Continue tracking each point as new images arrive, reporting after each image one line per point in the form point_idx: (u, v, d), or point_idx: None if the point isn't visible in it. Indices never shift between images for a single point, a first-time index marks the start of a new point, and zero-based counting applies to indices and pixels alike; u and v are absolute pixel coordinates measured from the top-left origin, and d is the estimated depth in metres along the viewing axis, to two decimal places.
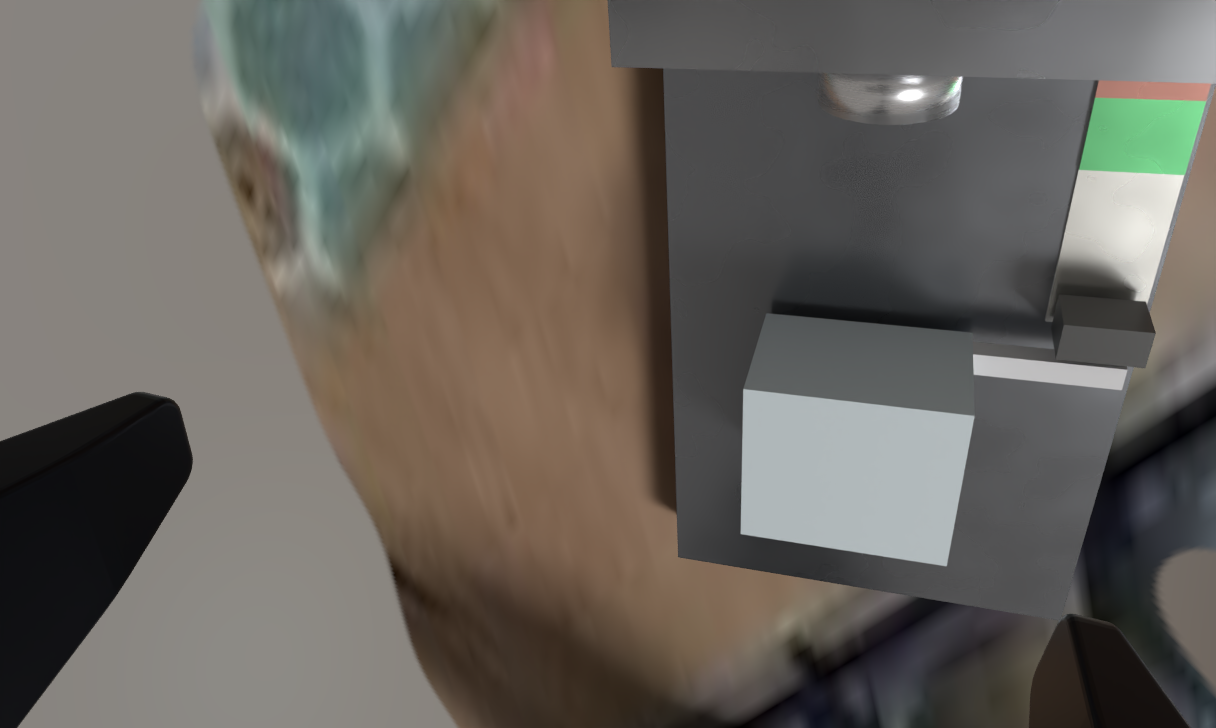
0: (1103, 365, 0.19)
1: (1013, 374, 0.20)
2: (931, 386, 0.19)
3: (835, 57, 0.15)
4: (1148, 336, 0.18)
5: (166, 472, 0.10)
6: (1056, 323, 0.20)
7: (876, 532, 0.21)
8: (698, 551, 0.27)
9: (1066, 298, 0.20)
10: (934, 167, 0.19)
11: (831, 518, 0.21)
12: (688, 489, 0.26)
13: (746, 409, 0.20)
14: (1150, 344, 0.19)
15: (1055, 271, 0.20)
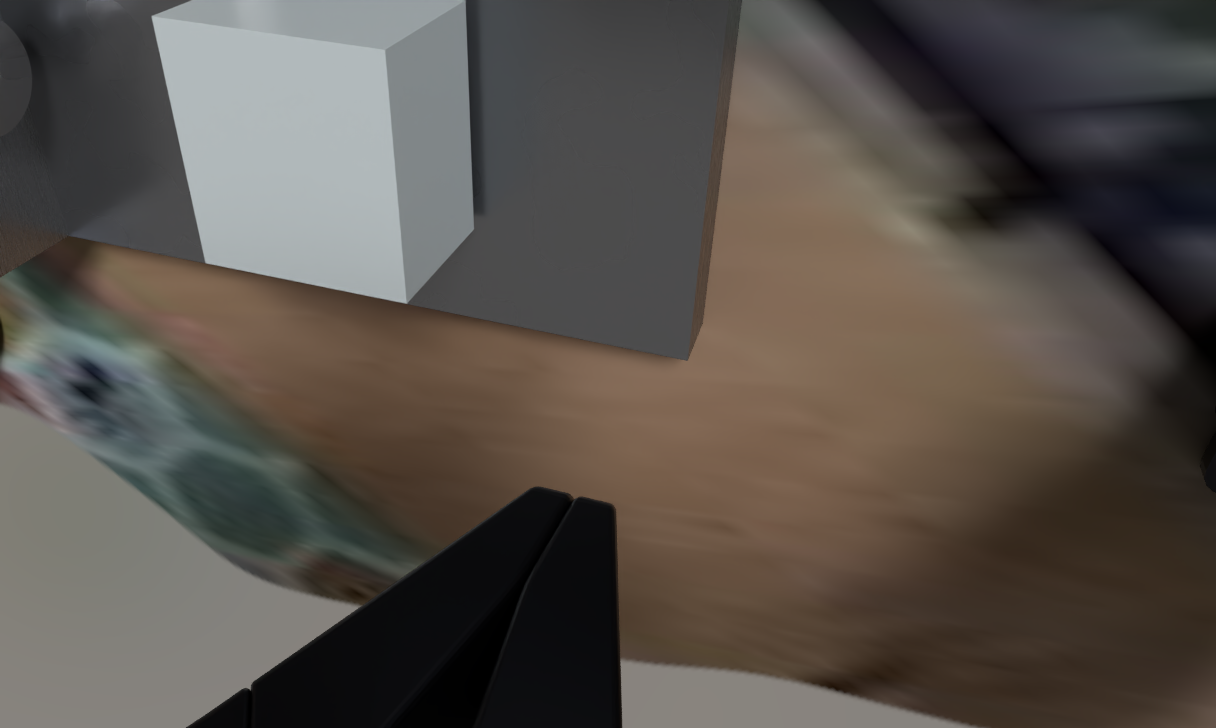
0: None
1: None
2: None
3: None
4: None
5: None
6: None
7: (354, 140, 0.15)
8: (673, 333, 0.20)
9: None
10: (119, 13, 0.19)
11: (349, 193, 0.16)
12: (567, 322, 0.20)
13: (229, 264, 0.18)
14: None
15: None
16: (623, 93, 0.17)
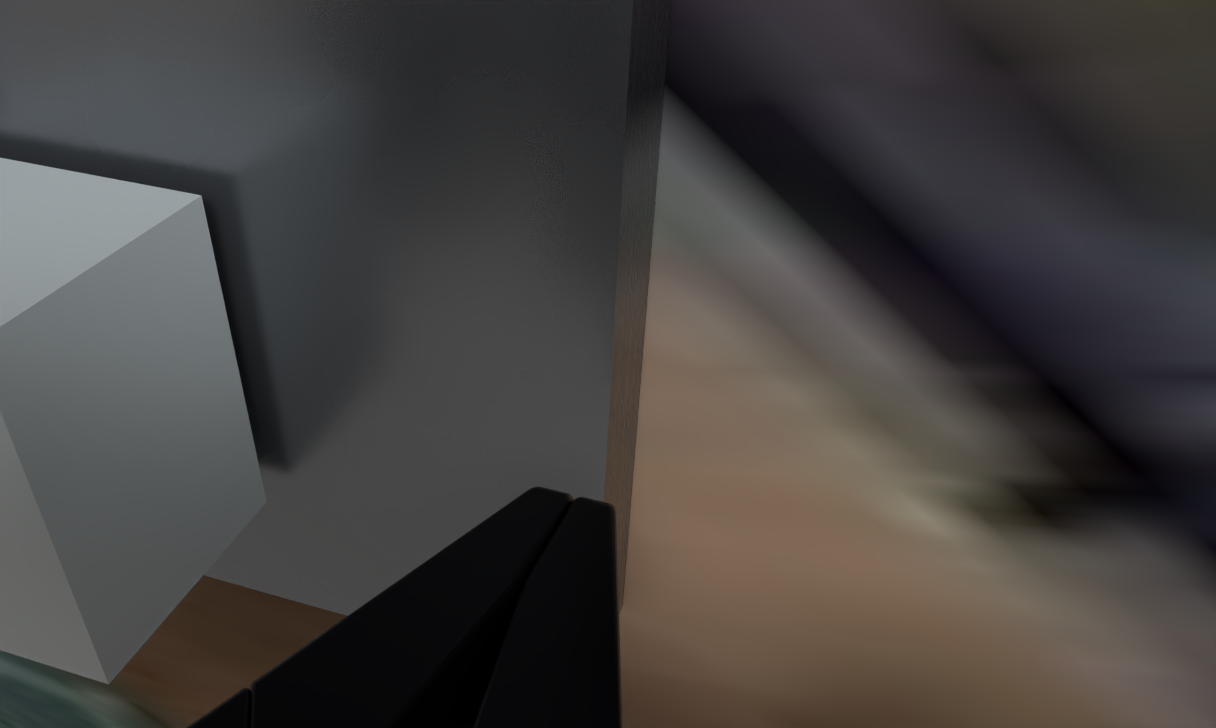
0: None
1: None
2: None
3: None
4: None
5: None
6: None
7: None
8: None
9: None
10: None
11: None
12: None
13: None
14: None
15: None
16: (465, 337, 0.11)
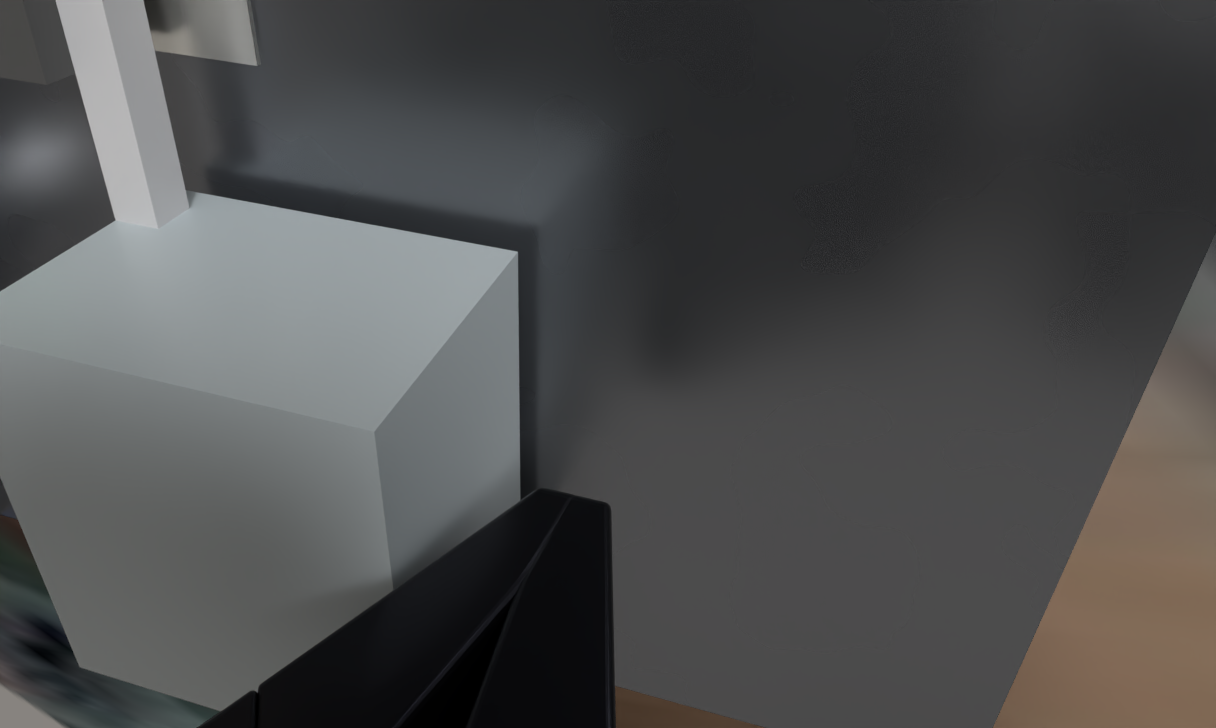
0: None
1: (128, 147, 0.09)
2: None
3: None
4: None
5: None
6: None
7: (319, 552, 0.08)
8: None
9: None
10: (59, 241, 0.12)
11: (312, 621, 0.09)
12: (769, 711, 0.13)
13: (117, 675, 0.10)
14: None
15: (158, 50, 0.10)
16: (931, 430, 0.10)
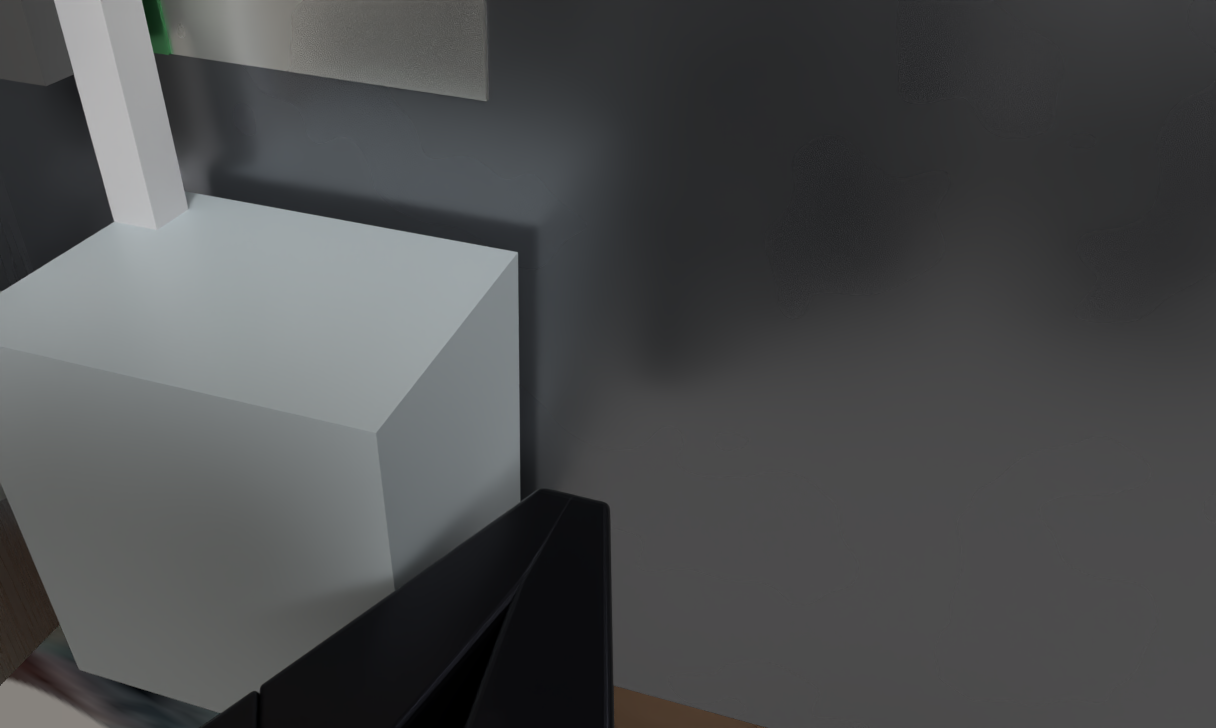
0: None
1: (127, 147, 0.09)
2: None
3: None
4: None
5: None
6: None
7: (321, 553, 0.08)
8: None
9: None
10: None
11: (314, 622, 0.09)
12: None
13: (116, 677, 0.10)
14: None
15: (375, 83, 0.09)
16: (1195, 483, 0.09)
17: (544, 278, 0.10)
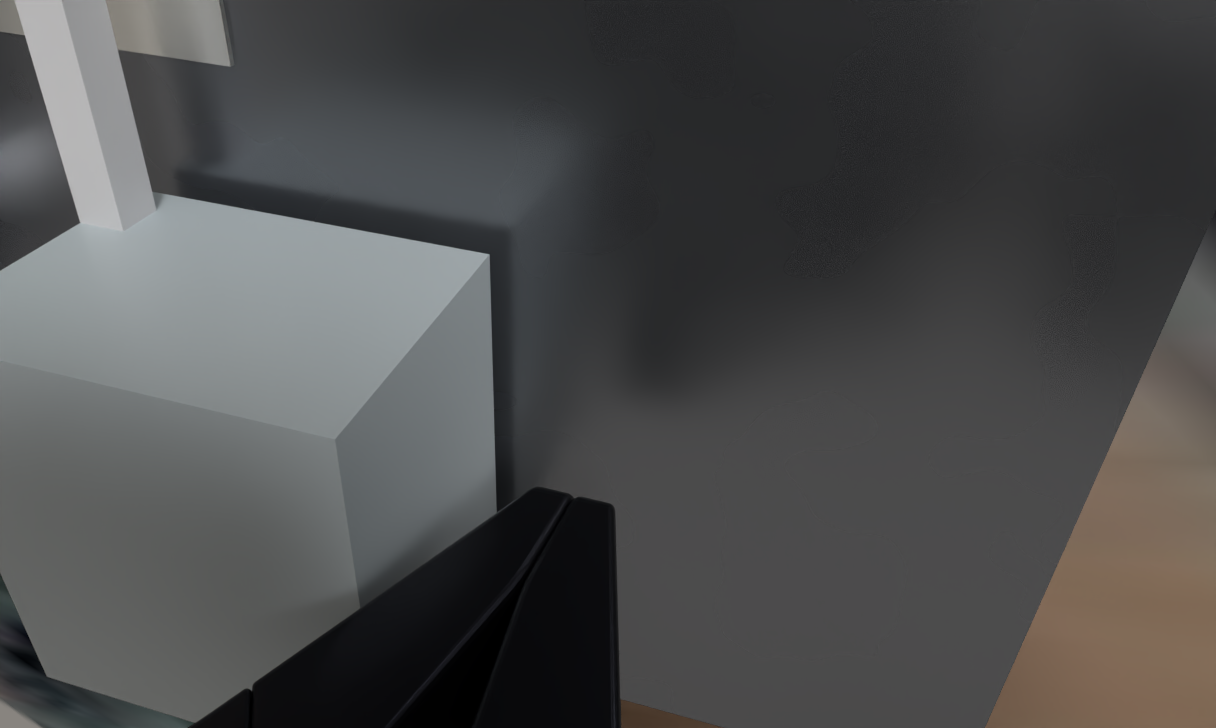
0: None
1: (92, 148, 0.09)
2: None
3: None
4: None
5: None
6: None
7: (284, 561, 0.08)
8: None
9: None
10: (33, 245, 0.12)
11: (279, 631, 0.09)
12: (755, 719, 0.13)
13: (84, 684, 0.10)
14: None
15: (130, 50, 0.10)
16: (917, 436, 0.10)
17: None
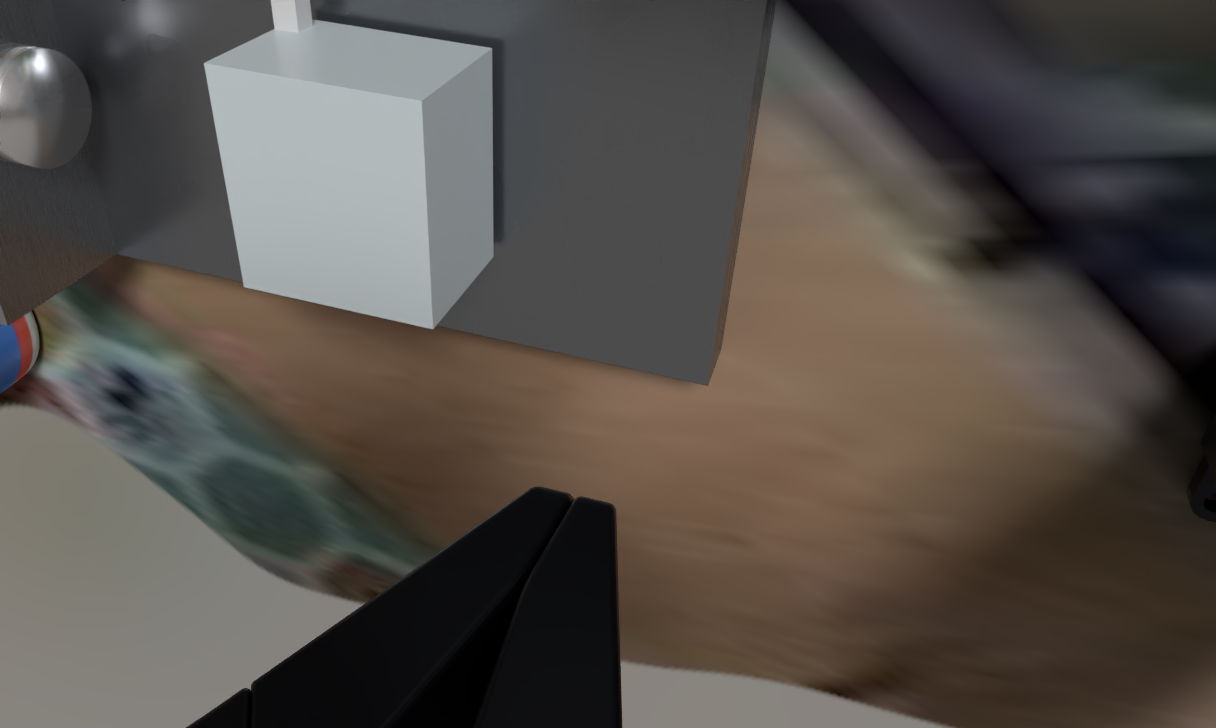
0: None
1: None
2: None
3: None
4: None
5: None
6: None
7: (390, 180, 0.17)
8: (695, 360, 0.21)
9: None
10: (177, 50, 0.20)
11: (383, 227, 0.17)
12: (594, 347, 0.21)
13: (266, 288, 0.19)
14: None
15: None
16: (655, 139, 0.18)
17: None
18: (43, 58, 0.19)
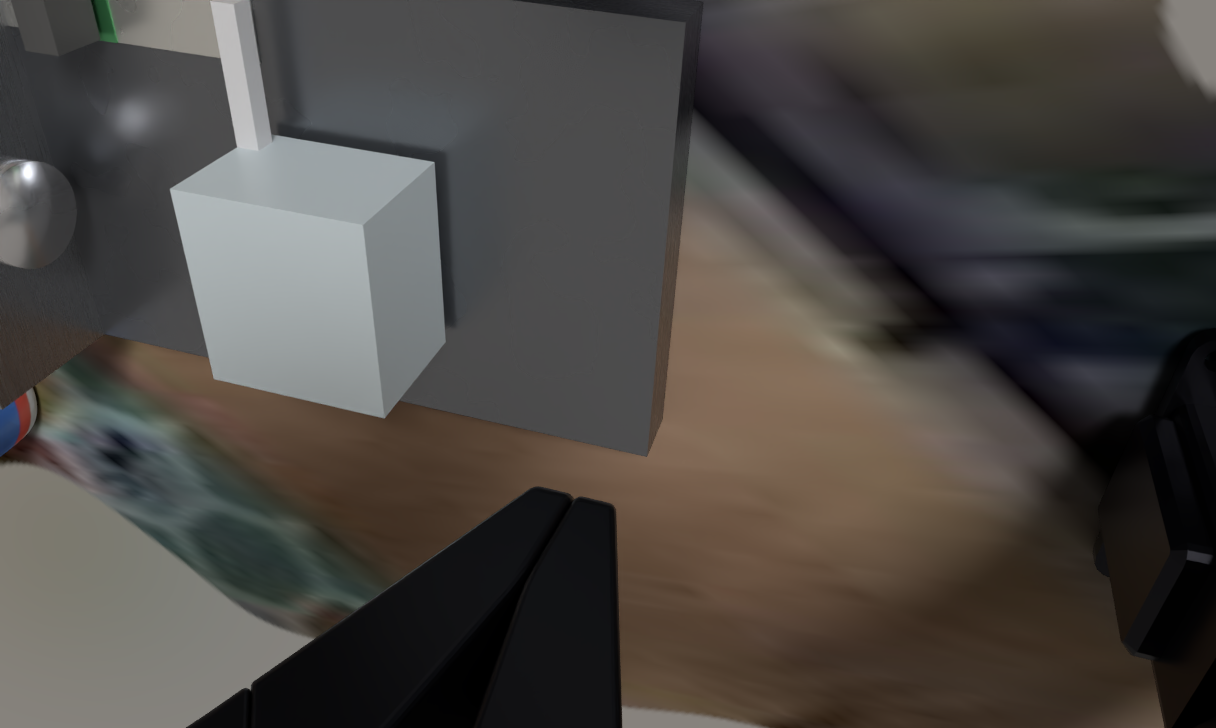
0: (216, 23, 0.18)
1: (247, 110, 0.19)
2: None
3: None
4: None
5: None
6: None
7: (339, 290, 0.18)
8: (634, 434, 0.23)
9: None
10: (153, 157, 0.22)
11: (335, 331, 0.19)
12: (542, 421, 0.23)
13: (234, 380, 0.21)
14: None
15: (210, 56, 0.20)
16: (586, 241, 0.20)
17: None
18: (30, 170, 0.21)
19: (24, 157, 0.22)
